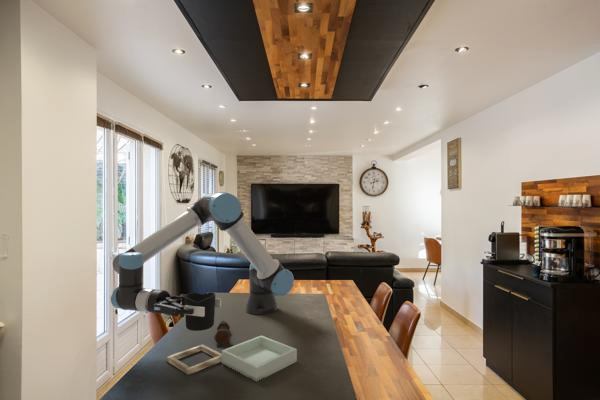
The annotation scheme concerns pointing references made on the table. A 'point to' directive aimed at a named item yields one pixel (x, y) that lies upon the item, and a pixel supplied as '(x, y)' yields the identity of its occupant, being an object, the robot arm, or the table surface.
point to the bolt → (222, 333)
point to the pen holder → (209, 303)
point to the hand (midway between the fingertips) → (212, 307)
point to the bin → (259, 357)
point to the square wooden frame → (189, 370)
